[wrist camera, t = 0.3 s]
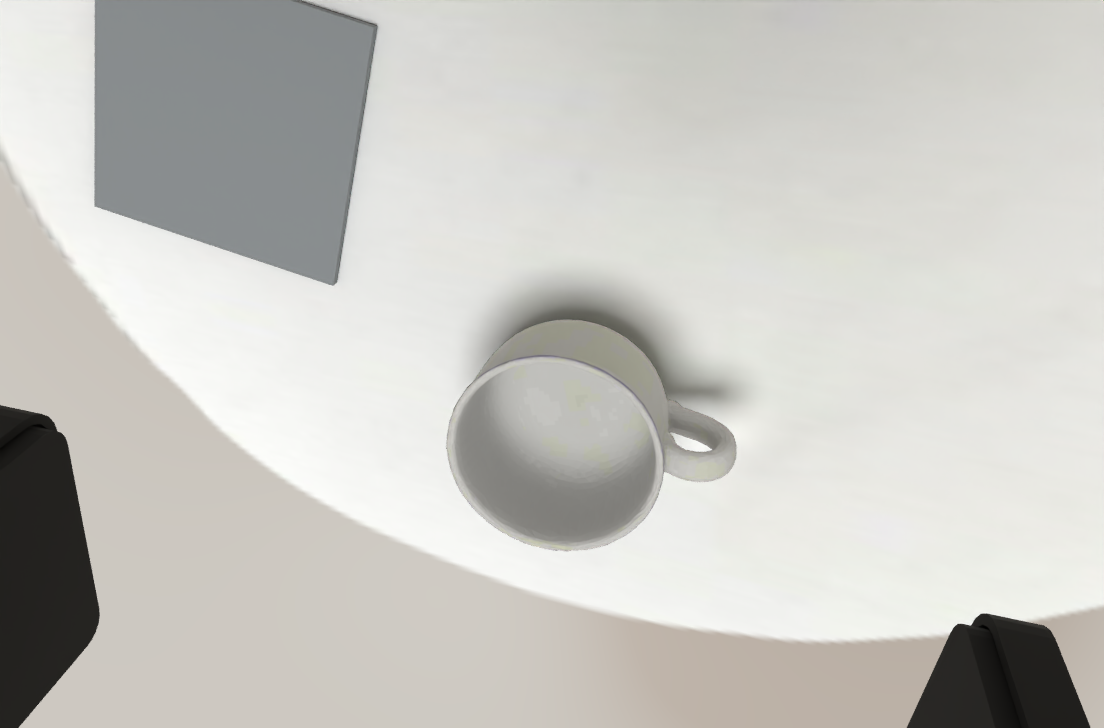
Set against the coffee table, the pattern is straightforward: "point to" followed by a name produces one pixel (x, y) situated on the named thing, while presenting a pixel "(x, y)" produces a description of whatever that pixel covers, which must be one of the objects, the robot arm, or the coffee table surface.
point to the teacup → (574, 437)
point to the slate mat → (232, 123)
